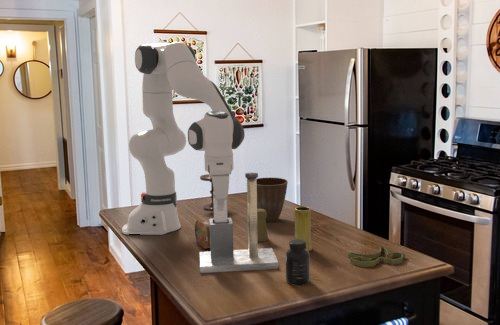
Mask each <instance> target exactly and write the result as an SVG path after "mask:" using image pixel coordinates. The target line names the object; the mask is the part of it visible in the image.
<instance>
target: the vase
mask: <svg viewBox="0 0 500 325" xmlns="http://www.w3.org/2000/svg"><path fill="white" fill-rule="evenodd" d="M311 214H312V213H311V207H309V206H296V207H295V208H294V238H293V240H294V239H301V240H304V241H306V250H307V251H308V252H310V251H312V250H313V247H312V233H311V232H312V231H311V223H312V222H311V221H312V220H311V218H312V217H311V216H312V215H311Z"/></svg>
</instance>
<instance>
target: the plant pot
mask: <svg viewBox="0 0 500 325" xmlns="http://www.w3.org/2000/svg"><path fill="white" fill-rule="evenodd" d="M288 182H289V181H288V180H287V179H285V178H281V177H259V178H258V177H257V209H264V210H266V212H267V216H266V218H265V220H266V222H267V223H273V222H277V221H279V219H280V216H281V214H282V210H283V207H284V204H285V199H286V194H287V189H288Z"/></svg>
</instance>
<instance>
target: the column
mask: <svg viewBox="0 0 500 325" xmlns="http://www.w3.org/2000/svg"><path fill="white" fill-rule="evenodd" d="M213 199H214V211H213V219H214V224H218V223H228V220H227V218H228V199H227V200H224V210H223V211H219V210H218V203H217V200H215V195H214V191H213Z"/></svg>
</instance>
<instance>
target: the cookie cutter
mask: <svg viewBox="0 0 500 325" xmlns="http://www.w3.org/2000/svg"><path fill="white" fill-rule="evenodd" d="M378 250H379V251H378V252H376V253H369V254H367V253H366V254H365V253H356V252H348V254H347V255H348V256H347V258H348V259H349V258H350V259H349V260H350V261H349V263H350V264H352V265H353V264H354V265H353V266H356V265H357V267H362V268H370V267H369V266H372V267H375V266H376V264H377V263H378V264H379V263H383V262H384V263H383V264H385V263H390V264H389V265H391V266H393V265H399V264H401V263H403V261H404V259H406V253H404V252H399V251H397V252H396V251H395V252H394V251H393V252H391V251H388V249H387V248H386V247H385V246H379V248H378ZM382 253H384V254H385V255H386V257H383V256H382ZM380 255H381V256H380ZM379 256H380V257H379ZM377 257H378V258H377ZM373 258H375V259H374V260H373ZM393 258H394V259H393ZM378 264H377V265H378ZM374 265H375V266H374Z"/></svg>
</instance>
